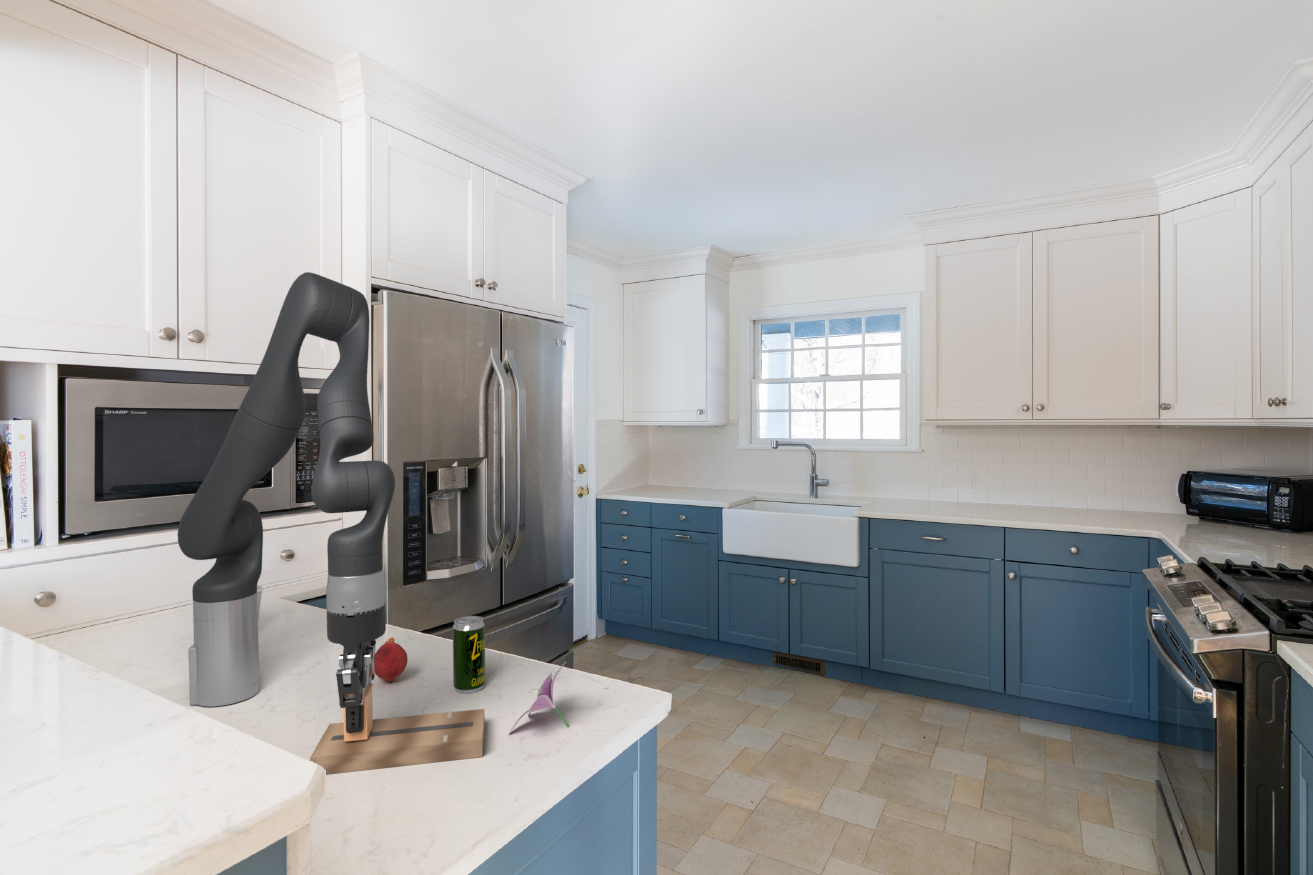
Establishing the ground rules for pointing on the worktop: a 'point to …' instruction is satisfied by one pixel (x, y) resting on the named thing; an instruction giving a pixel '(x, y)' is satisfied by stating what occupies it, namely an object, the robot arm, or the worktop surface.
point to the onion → (390, 660)
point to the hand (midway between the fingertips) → (358, 723)
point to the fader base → (403, 742)
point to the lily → (544, 697)
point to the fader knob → (367, 717)
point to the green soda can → (468, 654)
